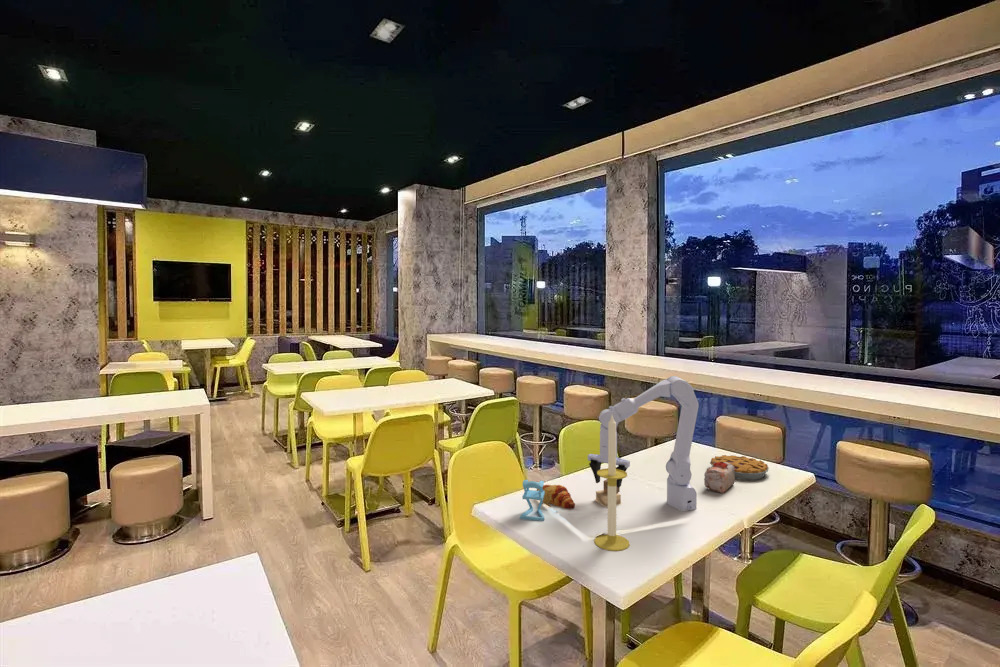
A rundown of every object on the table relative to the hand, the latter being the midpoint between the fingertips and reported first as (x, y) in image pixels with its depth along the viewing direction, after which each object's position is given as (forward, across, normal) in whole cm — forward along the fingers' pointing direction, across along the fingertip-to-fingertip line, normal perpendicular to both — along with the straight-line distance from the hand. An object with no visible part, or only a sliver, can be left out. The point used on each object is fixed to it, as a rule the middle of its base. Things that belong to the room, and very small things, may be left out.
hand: (608, 484), depth 171 cm
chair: (+8, +17, +21) cm, 28 cm away
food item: (+8, -28, -40) cm, 49 cm away
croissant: (+8, +16, +8) cm, 20 cm away
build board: (+7, -2, -2) cm, 8 cm away
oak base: (+6, 0, 0) cm, 6 cm away
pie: (+8, -30, -63) cm, 70 cm away
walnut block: (+3, 0, -2) cm, 3 cm away
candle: (+8, -12, +25) cm, 29 cm away
